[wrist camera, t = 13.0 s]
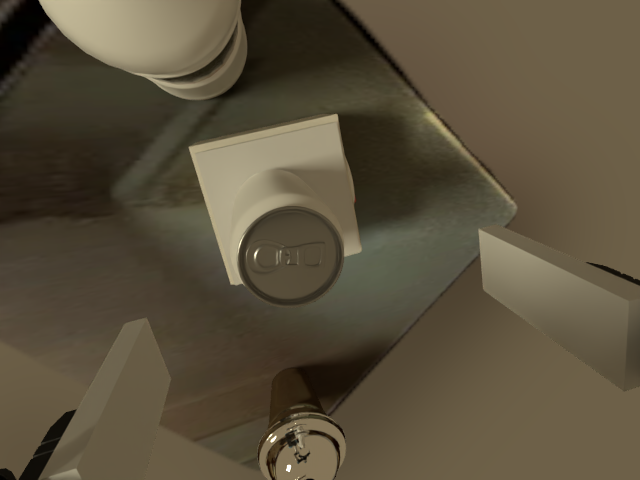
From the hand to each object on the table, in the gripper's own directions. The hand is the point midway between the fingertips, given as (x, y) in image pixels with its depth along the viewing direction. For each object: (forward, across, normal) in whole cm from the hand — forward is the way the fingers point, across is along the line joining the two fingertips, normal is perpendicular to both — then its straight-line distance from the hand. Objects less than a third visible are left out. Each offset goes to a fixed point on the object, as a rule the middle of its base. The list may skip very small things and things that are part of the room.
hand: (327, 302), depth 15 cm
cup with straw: (+26, -4, -23) cm, 35 cm away
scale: (+26, 0, 0) cm, 26 cm away
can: (+18, -1, 0) cm, 18 cm away
